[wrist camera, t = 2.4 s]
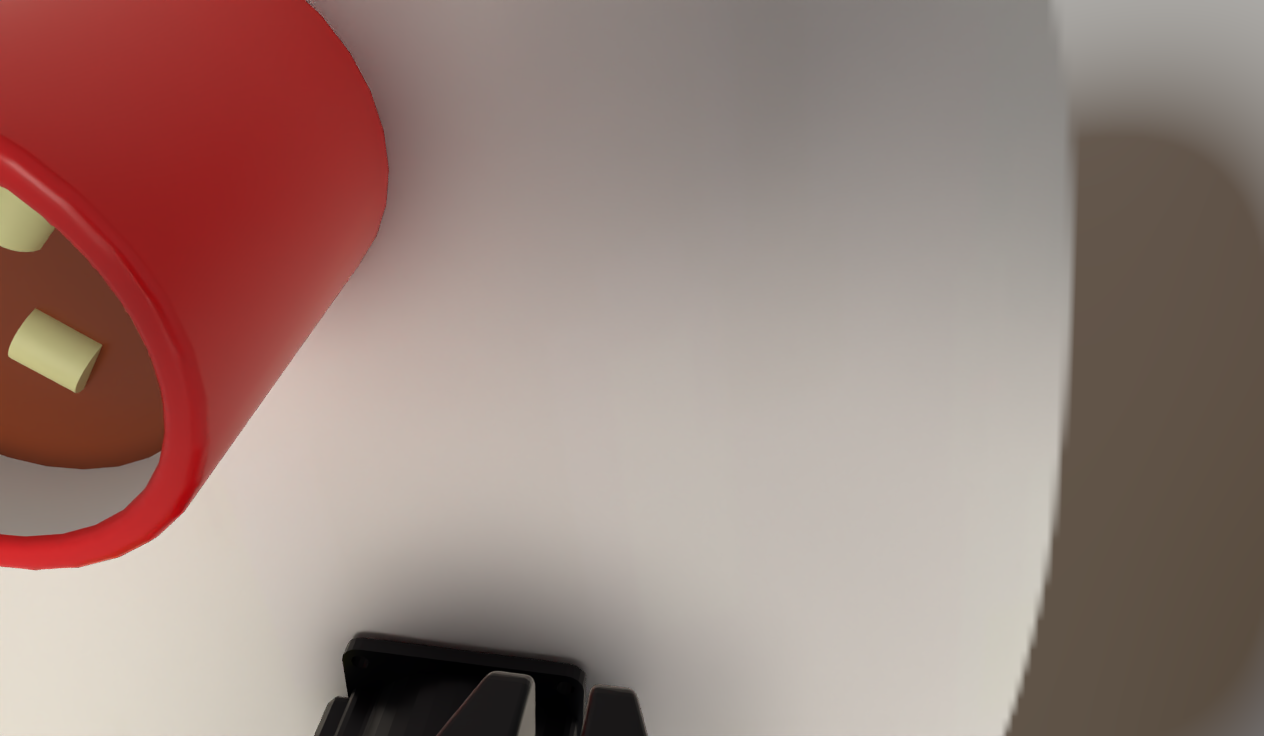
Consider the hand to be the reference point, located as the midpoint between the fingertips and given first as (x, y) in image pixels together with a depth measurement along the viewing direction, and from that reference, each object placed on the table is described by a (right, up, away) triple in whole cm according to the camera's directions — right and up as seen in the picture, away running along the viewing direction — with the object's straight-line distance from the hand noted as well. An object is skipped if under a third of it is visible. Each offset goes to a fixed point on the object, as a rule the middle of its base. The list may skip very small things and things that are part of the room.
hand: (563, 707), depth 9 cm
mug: (-10, +8, +11) cm, 17 cm away
